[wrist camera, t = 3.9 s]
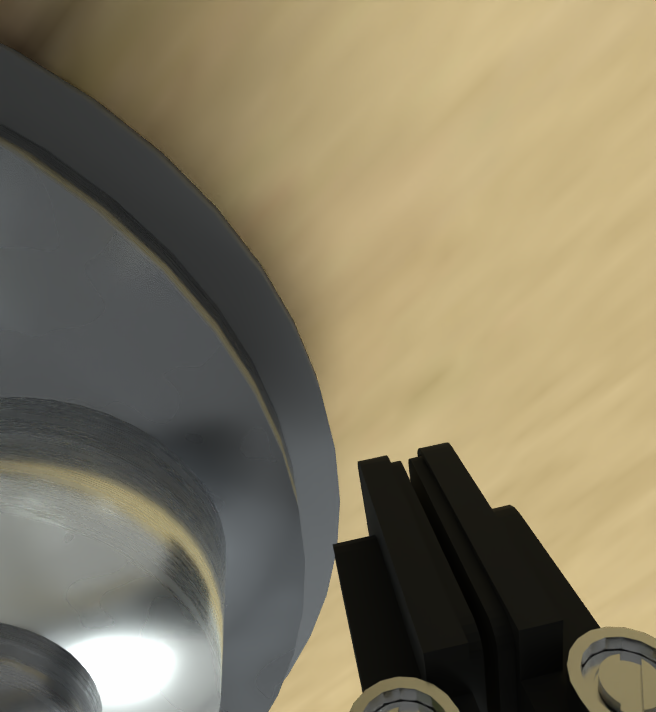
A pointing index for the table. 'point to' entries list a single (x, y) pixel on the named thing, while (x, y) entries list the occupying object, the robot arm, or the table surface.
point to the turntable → (154, 386)
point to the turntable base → (211, 271)
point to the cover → (104, 567)
